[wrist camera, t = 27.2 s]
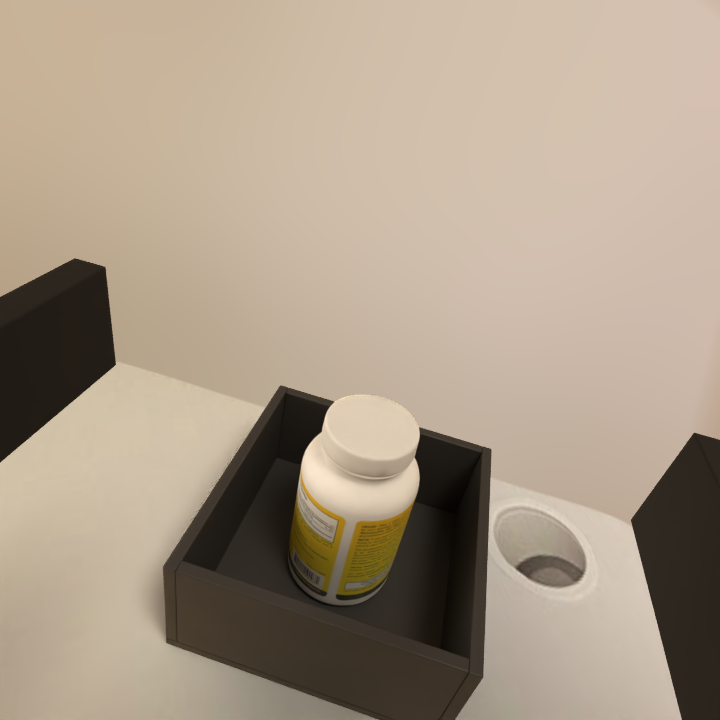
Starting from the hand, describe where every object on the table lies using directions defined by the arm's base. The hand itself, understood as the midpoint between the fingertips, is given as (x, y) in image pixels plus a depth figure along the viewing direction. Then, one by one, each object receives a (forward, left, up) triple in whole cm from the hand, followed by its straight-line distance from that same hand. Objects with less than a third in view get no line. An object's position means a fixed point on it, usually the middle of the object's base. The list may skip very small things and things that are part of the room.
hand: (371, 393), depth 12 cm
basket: (0, -10, -21) cm, 23 cm away
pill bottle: (0, -10, -20) cm, 23 cm away
